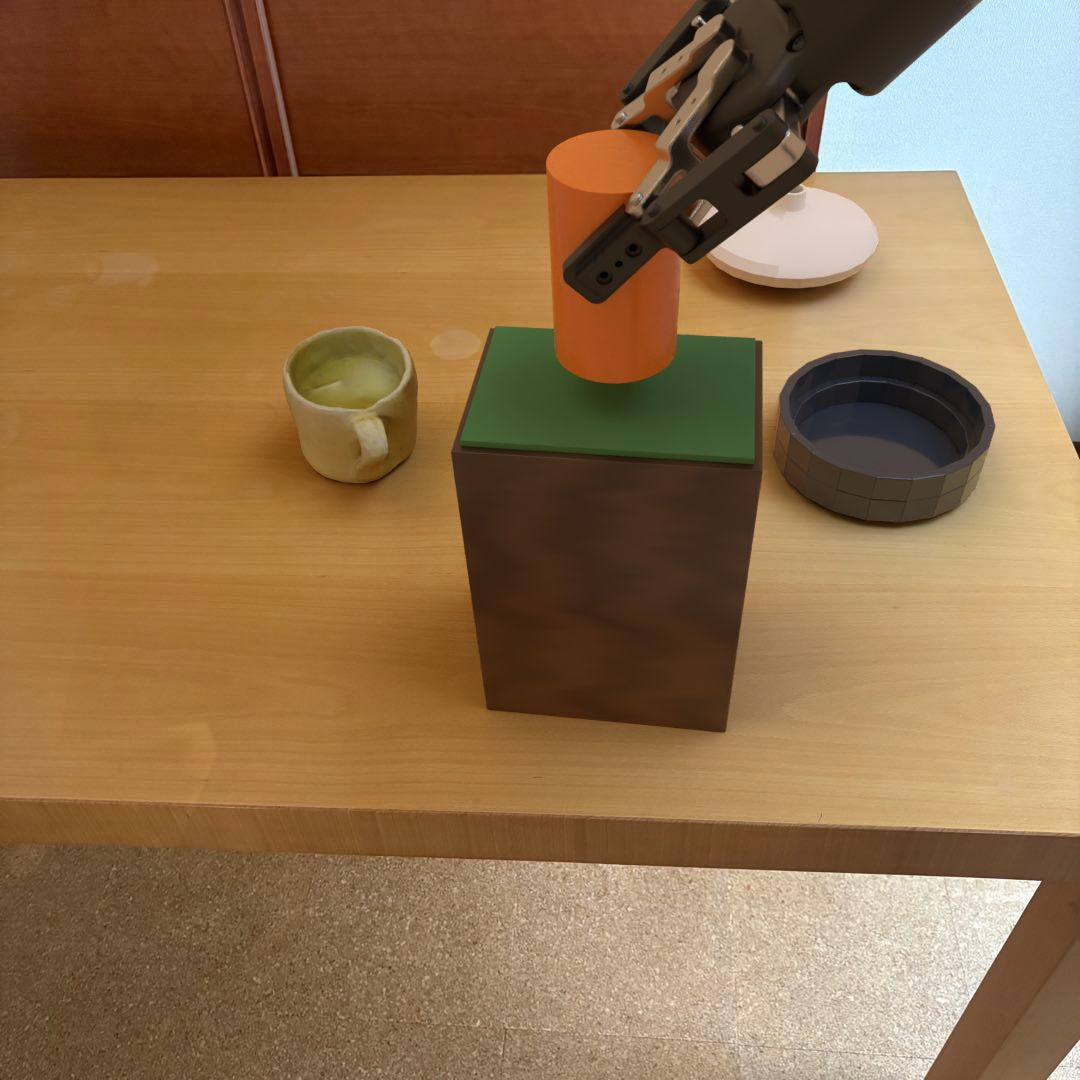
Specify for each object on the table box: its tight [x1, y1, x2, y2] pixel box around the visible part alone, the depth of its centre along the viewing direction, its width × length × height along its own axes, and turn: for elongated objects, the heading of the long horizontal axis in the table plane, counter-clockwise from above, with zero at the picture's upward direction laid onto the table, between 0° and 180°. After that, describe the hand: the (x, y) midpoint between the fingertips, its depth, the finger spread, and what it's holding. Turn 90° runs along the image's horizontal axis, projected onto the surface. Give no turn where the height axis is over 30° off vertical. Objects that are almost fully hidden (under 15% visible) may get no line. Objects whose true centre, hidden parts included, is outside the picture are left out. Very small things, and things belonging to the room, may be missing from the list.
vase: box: [699, 183, 880, 289], centre depth 92 cm, size 16×16×7 cm
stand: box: [450, 327, 764, 733], centre depth 57 cm, size 14×10×20 cm
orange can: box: [545, 129, 682, 384], centre depth 45 cm, size 6×6×9 cm
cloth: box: [460, 325, 756, 464], centre depth 50 cm, size 13×9×1 cm
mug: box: [282, 325, 419, 484], centre depth 75 cm, size 12×10×10 cm
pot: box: [772, 348, 996, 523], centre depth 74 cm, size 14×14×4 cm
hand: (574, 247), depth 44 cm, fingers closed on orange can, 5 cm apart
